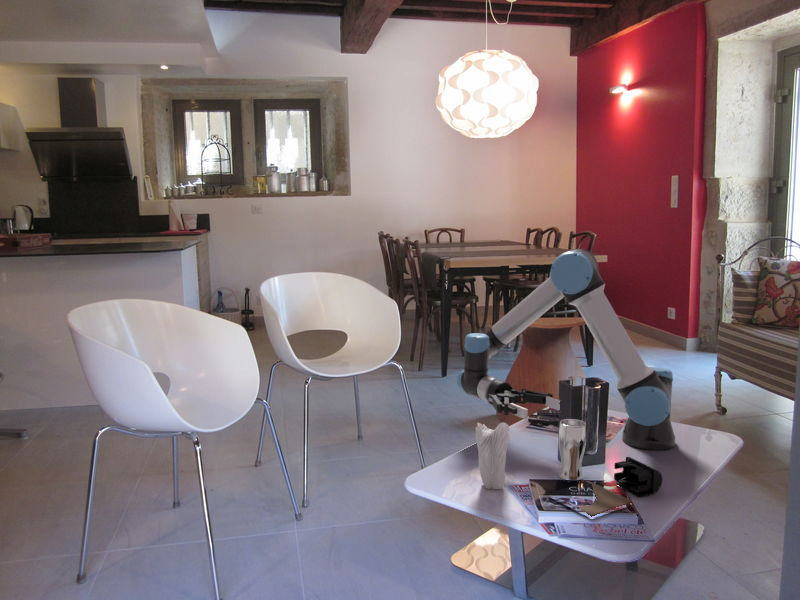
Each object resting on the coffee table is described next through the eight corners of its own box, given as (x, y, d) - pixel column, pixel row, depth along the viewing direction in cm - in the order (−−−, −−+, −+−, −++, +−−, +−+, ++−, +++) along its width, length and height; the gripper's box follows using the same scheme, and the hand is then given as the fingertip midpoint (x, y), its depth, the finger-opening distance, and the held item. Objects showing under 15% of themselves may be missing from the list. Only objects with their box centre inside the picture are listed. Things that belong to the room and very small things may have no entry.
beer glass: (565, 483, 174) (567, 428, 172) (552, 473, 181) (554, 419, 179) (589, 480, 176) (591, 425, 174) (575, 470, 183) (577, 417, 180)
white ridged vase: (473, 481, 176) (474, 414, 173) (504, 480, 176) (505, 414, 174) (478, 494, 168) (479, 425, 165) (511, 493, 168) (512, 424, 166)
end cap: (662, 494, 168) (663, 468, 167) (639, 499, 165) (641, 472, 164) (633, 479, 177) (635, 454, 176) (612, 483, 174) (613, 458, 173)
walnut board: (588, 485, 173) (588, 480, 173) (632, 505, 161) (632, 500, 161) (548, 497, 166) (548, 492, 166) (591, 519, 154) (591, 514, 154)
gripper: (526, 397, 209) (577, 416, 191) (461, 409, 196) (509, 431, 179) (527, 374, 208) (578, 391, 190) (462, 384, 195) (511, 404, 177)
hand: (545, 410), depth 184 cm, fingers open, 13 cm apart
